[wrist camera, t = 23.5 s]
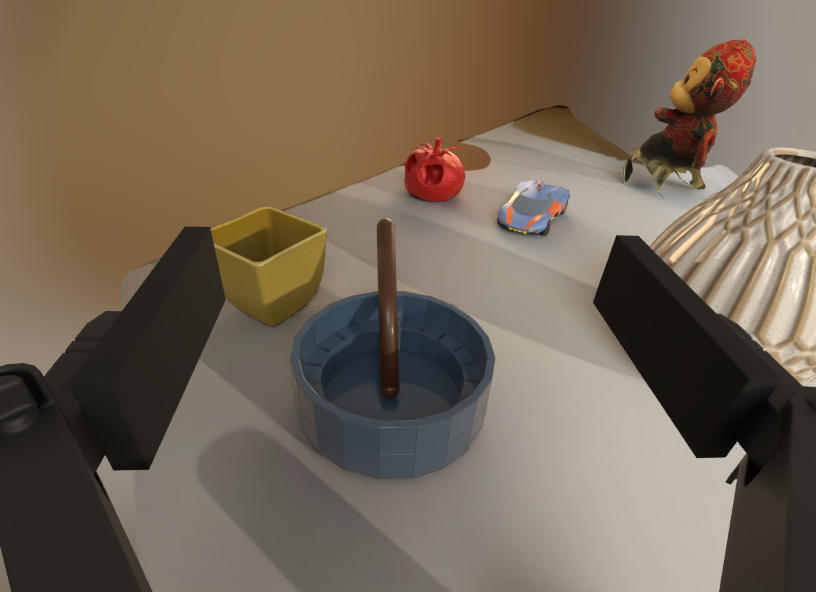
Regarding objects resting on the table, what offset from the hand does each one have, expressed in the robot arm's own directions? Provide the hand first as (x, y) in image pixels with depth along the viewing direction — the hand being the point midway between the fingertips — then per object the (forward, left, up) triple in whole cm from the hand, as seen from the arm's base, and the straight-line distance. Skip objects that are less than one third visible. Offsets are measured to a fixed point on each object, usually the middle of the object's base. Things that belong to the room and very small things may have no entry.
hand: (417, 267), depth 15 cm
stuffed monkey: (+50, +62, -21) cm, 83 cm away
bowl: (0, +13, -21) cm, 25 cm away
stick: (0, +13, -20) cm, 24 cm away
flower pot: (-12, +26, -21) cm, 36 cm away
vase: (+29, +17, -21) cm, 40 cm away
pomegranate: (+8, +58, -21) cm, 63 cm away
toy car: (+22, +49, -21) cm, 58 cm away
